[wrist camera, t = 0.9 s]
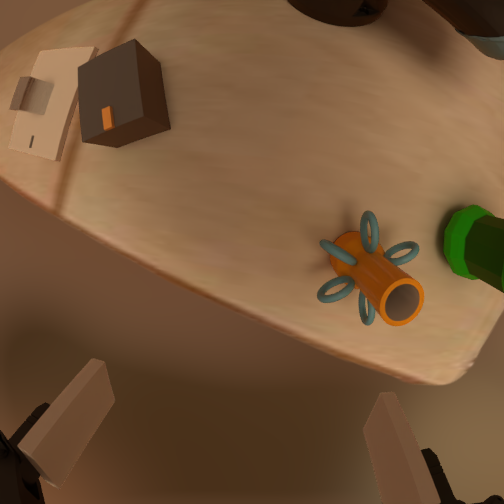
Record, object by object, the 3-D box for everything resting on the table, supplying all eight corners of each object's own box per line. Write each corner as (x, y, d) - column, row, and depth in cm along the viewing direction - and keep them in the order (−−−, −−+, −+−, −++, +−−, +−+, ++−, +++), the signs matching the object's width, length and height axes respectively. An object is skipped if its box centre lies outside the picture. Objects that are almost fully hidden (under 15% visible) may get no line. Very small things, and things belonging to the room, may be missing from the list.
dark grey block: (109, 83, 30) (74, 65, 22) (160, 63, 29) (132, 36, 21) (117, 147, 32) (79, 141, 24) (170, 129, 31) (141, 114, 23)
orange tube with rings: (289, 268, 35) (301, 327, 20) (331, 193, 32) (378, 202, 18) (366, 309, 35) (411, 376, 21) (407, 242, 33) (477, 279, 18)
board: (44, 52, 28) (19, 42, 21) (98, 49, 29) (72, 32, 22) (12, 148, 33) (-17, 148, 26) (60, 160, 33) (27, 160, 26)
